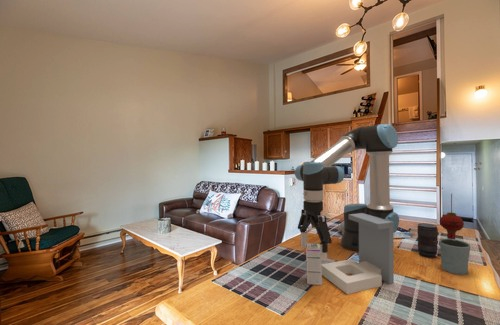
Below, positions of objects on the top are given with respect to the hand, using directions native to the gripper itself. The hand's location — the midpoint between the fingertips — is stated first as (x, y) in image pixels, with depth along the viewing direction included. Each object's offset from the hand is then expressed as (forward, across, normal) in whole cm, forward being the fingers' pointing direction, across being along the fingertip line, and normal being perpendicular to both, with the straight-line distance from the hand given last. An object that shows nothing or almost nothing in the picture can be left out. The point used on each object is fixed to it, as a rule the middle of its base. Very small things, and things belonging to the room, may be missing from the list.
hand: (313, 253), depth 96 cm
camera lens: (+10, -2, +66) cm, 67 cm away
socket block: (+11, +4, +17) cm, 21 cm away
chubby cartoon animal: (+11, -42, +50) cm, 67 cm away
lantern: (+10, 0, +80) cm, 81 cm away
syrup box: (+11, 0, 0) cm, 11 cm away
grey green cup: (+11, +13, +62) cm, 64 cm away
